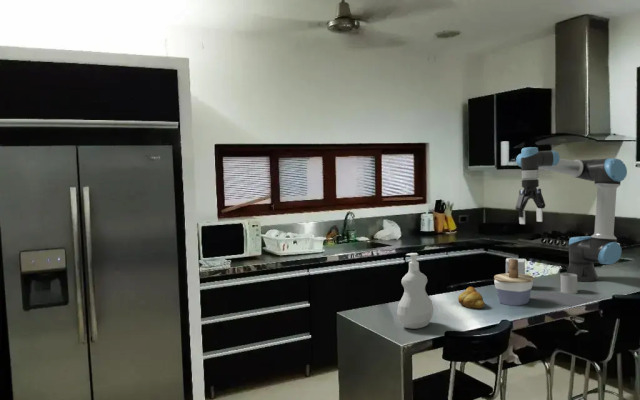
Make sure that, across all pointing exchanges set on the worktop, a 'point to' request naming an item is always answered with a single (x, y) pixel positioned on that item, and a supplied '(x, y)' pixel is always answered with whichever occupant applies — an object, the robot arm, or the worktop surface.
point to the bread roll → (471, 298)
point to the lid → (513, 274)
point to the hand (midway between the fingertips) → (531, 222)
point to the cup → (569, 283)
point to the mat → (560, 298)
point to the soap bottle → (414, 298)
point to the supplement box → (520, 266)
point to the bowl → (513, 292)
